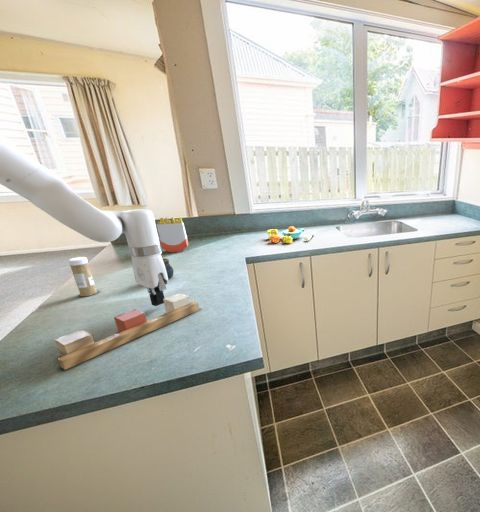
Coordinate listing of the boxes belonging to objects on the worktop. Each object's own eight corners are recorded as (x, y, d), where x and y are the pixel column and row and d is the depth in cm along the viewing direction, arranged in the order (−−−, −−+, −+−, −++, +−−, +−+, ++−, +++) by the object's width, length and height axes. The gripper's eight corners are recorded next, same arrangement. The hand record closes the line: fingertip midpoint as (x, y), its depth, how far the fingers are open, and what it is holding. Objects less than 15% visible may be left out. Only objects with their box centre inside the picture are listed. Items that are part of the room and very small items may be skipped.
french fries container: (165, 250, 155) (157, 216, 150) (189, 248, 159) (182, 215, 154) (163, 253, 151) (155, 218, 146) (188, 250, 155) (181, 217, 150)
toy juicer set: (267, 245, 166) (265, 232, 164) (268, 237, 183) (266, 225, 180) (318, 242, 175) (317, 229, 173) (315, 234, 192) (314, 223, 189)
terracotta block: (128, 337, 80) (123, 321, 79) (118, 332, 82) (113, 317, 81) (148, 328, 85) (144, 313, 83) (139, 324, 87) (134, 309, 85)
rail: (65, 369, 68) (61, 360, 67) (61, 367, 69) (57, 358, 68) (199, 309, 95) (198, 302, 95) (195, 308, 96) (194, 301, 95)
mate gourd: (174, 280, 118) (169, 256, 115) (150, 284, 114) (144, 259, 111) (175, 274, 124) (170, 251, 121) (153, 277, 120) (147, 254, 117)
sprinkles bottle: (100, 292, 107) (89, 257, 103) (85, 297, 103) (73, 261, 98) (91, 290, 108) (80, 255, 104) (76, 295, 104) (64, 259, 100)
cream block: (176, 316, 91) (172, 302, 89) (166, 313, 93) (163, 299, 91) (192, 309, 95) (189, 295, 94) (182, 306, 97) (179, 292, 96)
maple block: (70, 363, 70) (63, 345, 68) (61, 357, 72) (54, 339, 71) (97, 351, 74) (91, 334, 73) (87, 346, 76) (81, 329, 75)
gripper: (118, 249, 90) (132, 303, 96) (146, 257, 84) (159, 314, 90) (145, 244, 97) (157, 295, 102) (173, 250, 91) (184, 304, 96)
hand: (158, 303), depth 96 cm, fingers closed
